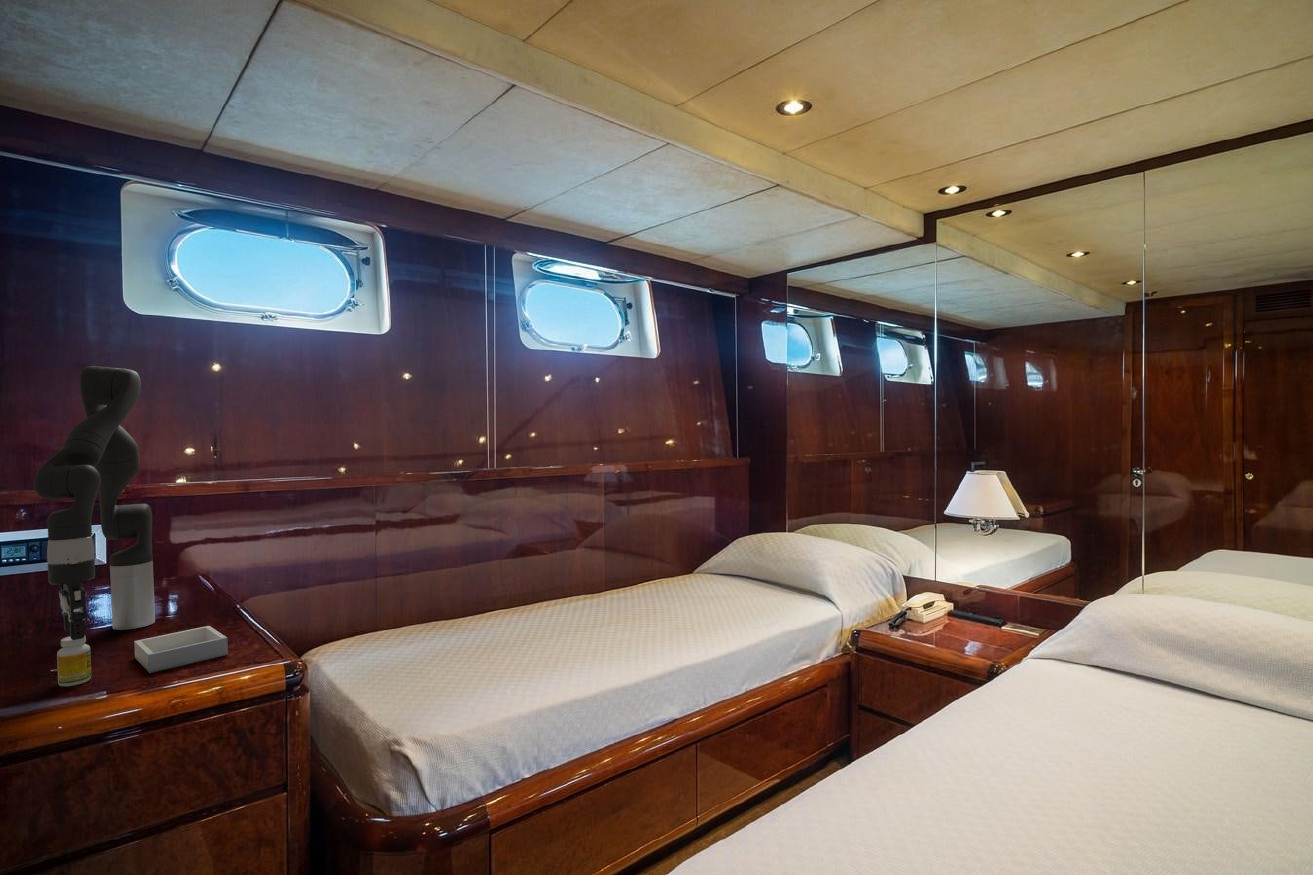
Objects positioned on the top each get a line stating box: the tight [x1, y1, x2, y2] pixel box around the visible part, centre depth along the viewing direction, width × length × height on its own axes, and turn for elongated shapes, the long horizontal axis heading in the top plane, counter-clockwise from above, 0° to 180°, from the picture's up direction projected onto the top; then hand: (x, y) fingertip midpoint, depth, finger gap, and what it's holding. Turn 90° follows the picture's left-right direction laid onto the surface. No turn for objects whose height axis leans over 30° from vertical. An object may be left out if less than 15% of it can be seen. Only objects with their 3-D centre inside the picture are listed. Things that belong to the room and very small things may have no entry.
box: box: [134, 625, 229, 674], centre depth 157 cm, size 15×15×4 cm
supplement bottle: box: [56, 635, 92, 687], centre depth 142 cm, size 5×5×10 cm
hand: (74, 634), depth 142 cm, fingers open, 8 cm apart
